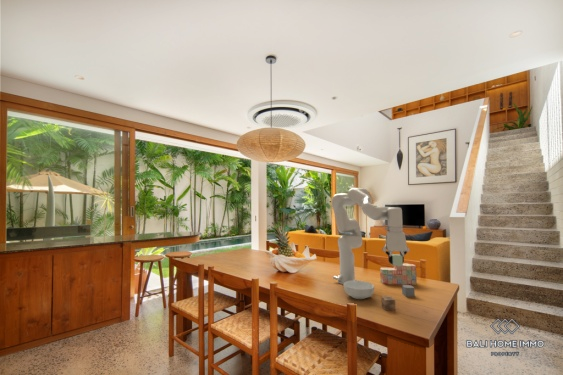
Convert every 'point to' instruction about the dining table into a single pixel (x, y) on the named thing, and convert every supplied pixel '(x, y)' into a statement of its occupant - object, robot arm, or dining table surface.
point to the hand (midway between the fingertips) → (396, 263)
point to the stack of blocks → (399, 274)
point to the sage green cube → (397, 260)
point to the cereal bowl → (358, 289)
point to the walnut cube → (388, 303)
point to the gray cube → (408, 291)
